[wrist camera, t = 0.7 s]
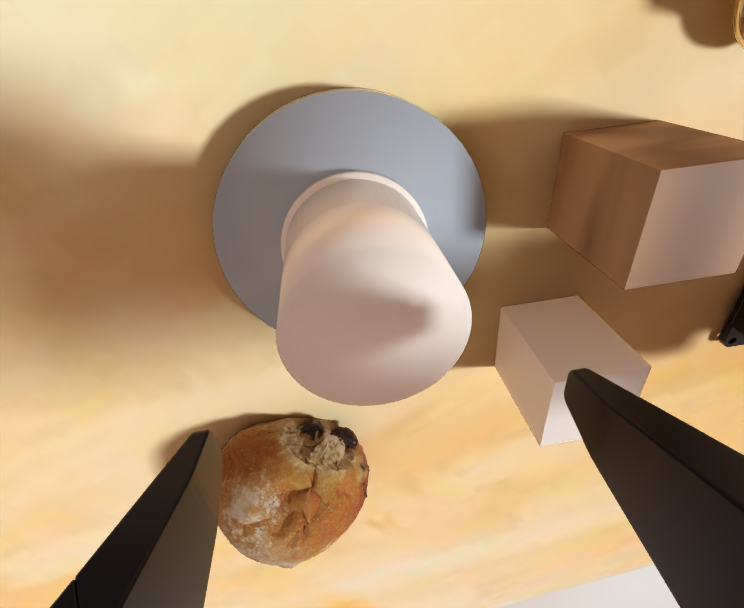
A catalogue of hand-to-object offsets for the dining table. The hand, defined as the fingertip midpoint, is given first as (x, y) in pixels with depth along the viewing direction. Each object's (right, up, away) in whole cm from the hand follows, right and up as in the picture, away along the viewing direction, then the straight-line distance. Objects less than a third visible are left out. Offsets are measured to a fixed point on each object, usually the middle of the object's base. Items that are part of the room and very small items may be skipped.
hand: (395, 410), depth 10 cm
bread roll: (-6, -8, +18) cm, 20 cm away
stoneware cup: (-1, +5, +8) cm, 10 cm away
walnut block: (+10, +9, +9) cm, 16 cm away
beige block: (+9, +1, +14) cm, 17 cm away
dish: (-2, +6, +9) cm, 11 cm away
